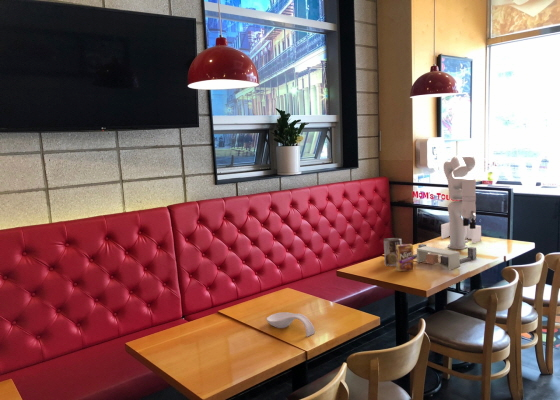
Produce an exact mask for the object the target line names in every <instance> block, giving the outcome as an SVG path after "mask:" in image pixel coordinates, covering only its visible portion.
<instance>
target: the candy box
mask: <svg viewBox="0 0 560 400" xmlns="http://www.w3.org/2000/svg"><path fill="white" fill-rule="evenodd" d="M413 255H414V245H413V244H412V243H402V244H401V245H396V260H397V266H396V271H397V272H409V271H414V259H413Z"/></svg>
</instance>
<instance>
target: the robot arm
mask: <svg viewBox="0 0 560 400" xmlns="http://www.w3.org/2000/svg"><path fill="white" fill-rule="evenodd" d="M475 165H476V160H475V158H474V156H473V155H471V154H470V155H469V154H467V155H455V156H453V157H452V158H451V159H450V160H447V161H445V162H444V163H443V171H444V174H445V177H446V179H447V185H448V188H447V189H448V196H449V199H451V200H452V202H449V203H448V205H447V211H448V217H449V222H450V237H449V244H447V248H448V249H450V250H451V249H453V250H465V249H468V245H467V244H466V243H469V239H465V226H469V225H470V229H475V228H476V225H477V224H476V222H477V221H476V220H477V215H476V212H477V210H476V209H477V206H476V200H477V195H476V186H477V185H476V184H477V182H476V179H475V178H474V177H472V176H467V175H468V173H469V172H471V171H472V170H473V169H474V167H475Z"/></svg>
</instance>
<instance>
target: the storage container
mask: <svg viewBox="0 0 560 400" xmlns="http://www.w3.org/2000/svg"><path fill="white" fill-rule="evenodd" d="M440 231H441V232H440V234H441V236H440V237H441V239H442V240H443V239H446V238H450V237H449V236H450V221H449V222H446V223H442V224H441V225H440ZM467 238H468V239H467ZM465 240H471V244H475V243H478V242H480V241H482V225H477V224H476V228H475V229H470V224H469V226H465Z"/></svg>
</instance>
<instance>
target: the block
mask: <svg viewBox="0 0 560 400" xmlns="http://www.w3.org/2000/svg"><path fill="white" fill-rule="evenodd" d="M425 262H426V264H427V263H428V264H432V265H434V264H438V263H439V255H438V254H433V253H428V254H427V255H426V261H425Z"/></svg>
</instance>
